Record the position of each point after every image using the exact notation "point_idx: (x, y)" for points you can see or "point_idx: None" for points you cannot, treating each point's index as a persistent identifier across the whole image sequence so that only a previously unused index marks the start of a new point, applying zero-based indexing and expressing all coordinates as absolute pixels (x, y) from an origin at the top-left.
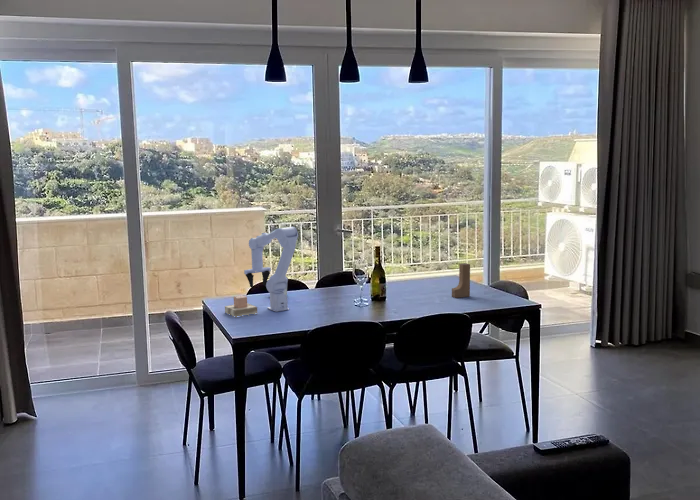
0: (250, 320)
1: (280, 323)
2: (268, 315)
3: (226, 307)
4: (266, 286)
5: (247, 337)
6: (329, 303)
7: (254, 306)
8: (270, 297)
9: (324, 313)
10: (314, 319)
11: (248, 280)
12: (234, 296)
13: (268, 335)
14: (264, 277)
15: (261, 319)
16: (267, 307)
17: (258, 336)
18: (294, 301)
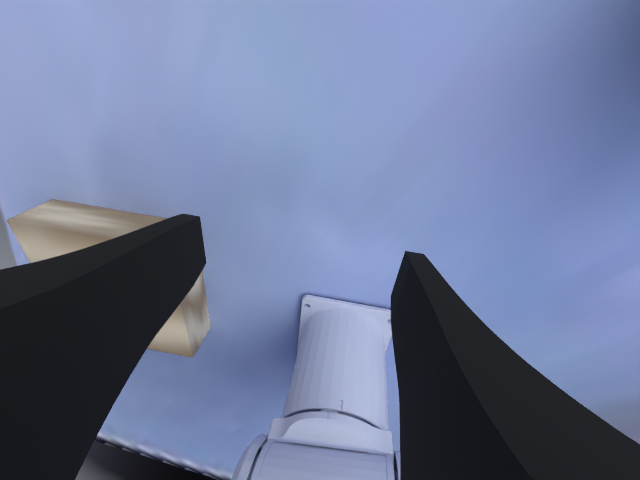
0: (150, 367)
1: (228, 436)
2: (241, 369)
3: (24, 240)
4: (234, 475)
5: (104, 441)
6: (622, 428)
7: (183, 342)
8: (289, 388)
9: None
10: None
11: (76, 259)
12: None
13: (156, 459)
14: (417, 401)
15: (192, 383)
16: (305, 298)
17: (131, 450)
18: (585, 282)
